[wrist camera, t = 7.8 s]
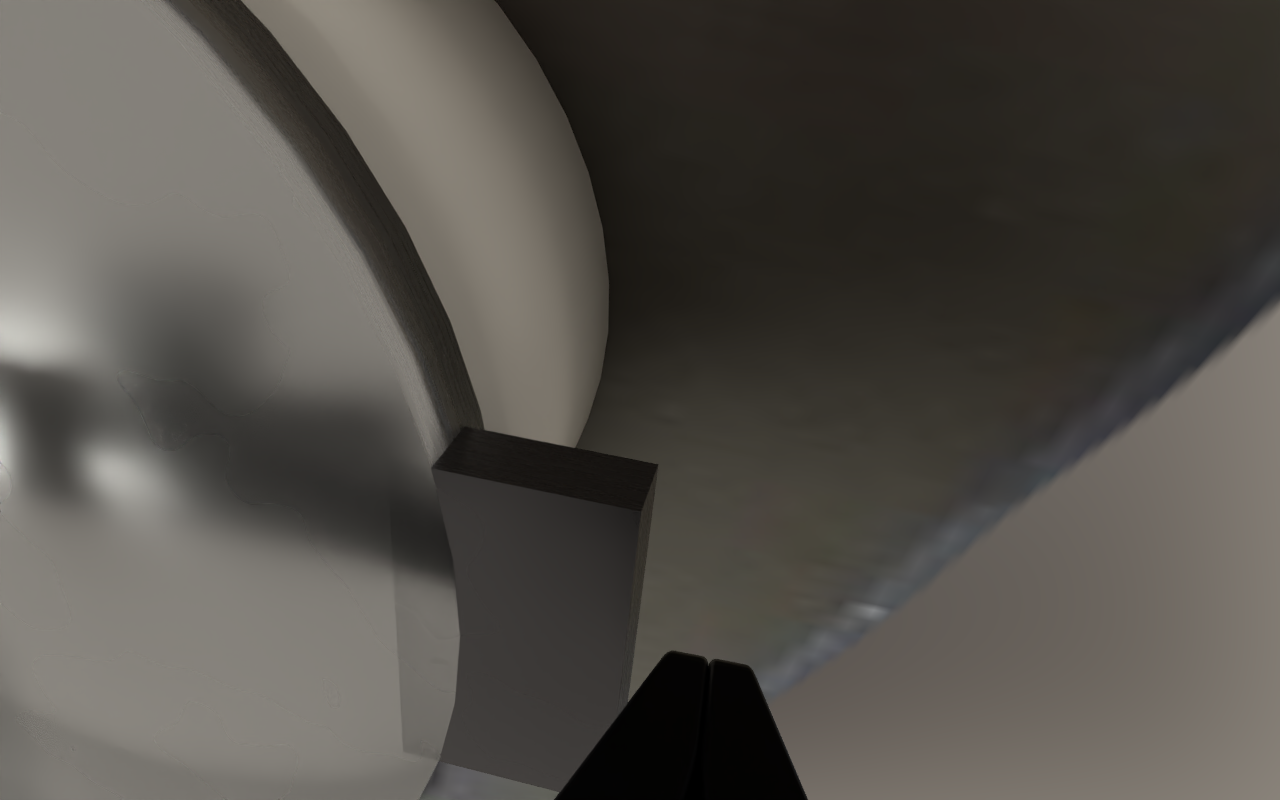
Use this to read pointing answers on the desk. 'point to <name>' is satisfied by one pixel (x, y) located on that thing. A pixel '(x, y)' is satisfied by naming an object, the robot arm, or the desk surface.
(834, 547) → the desk surface
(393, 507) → the cooker lid
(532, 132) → the cooker body
